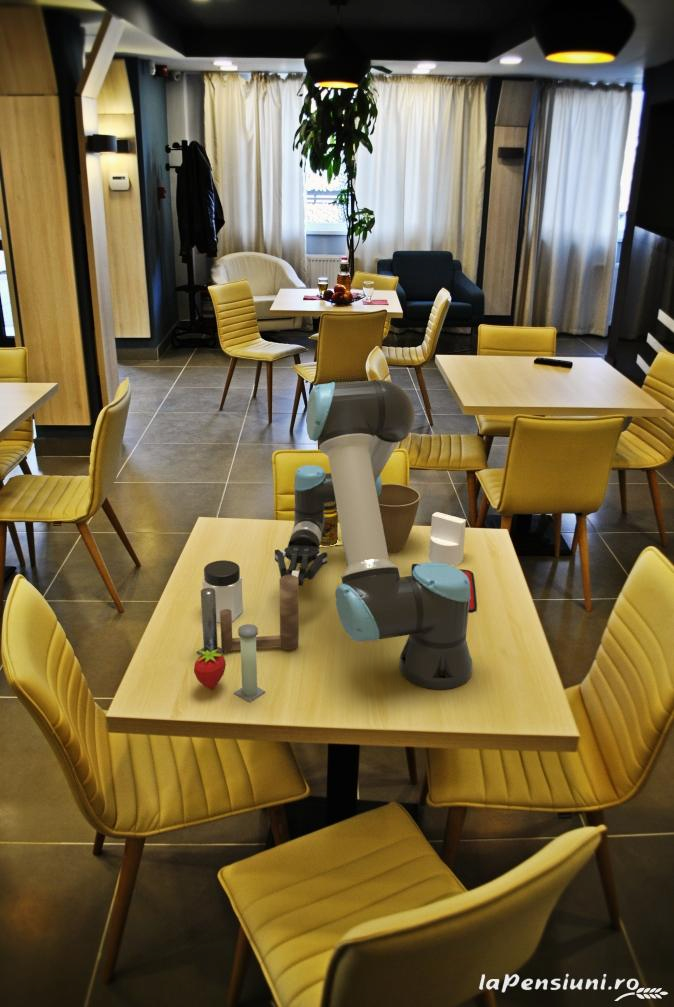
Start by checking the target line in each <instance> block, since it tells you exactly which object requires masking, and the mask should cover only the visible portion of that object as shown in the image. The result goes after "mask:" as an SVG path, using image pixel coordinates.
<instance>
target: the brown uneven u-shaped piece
mask: <svg viewBox="0 0 674 1007" xmlns="http://www.w3.org/2000/svg"><path fill="white" fill-rule="evenodd" d="M299 600H300V599H299V586H298V578H297V577H296V576H293V575H285V576H282V577H281V576H280V578H279V634H278V635H263V636H262V635H261V636H256V649H264V648H280V647H281V648H282V649H284V650H294V649H296V648H297V647H299V640H300V638H299V635H300V634H299V629H300V628H299V625H300V624H299V615H300V614H299V608H300V605H299ZM219 623H220V624H219V625H220V642H221V646H220V648H221V649H222V650H223V651H225V652H230V651H232V650H235V651H236V650H241V641H240V637H233V621H232V615H231V610H229V609H223V610H221V611H220V622H219Z"/></svg>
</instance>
